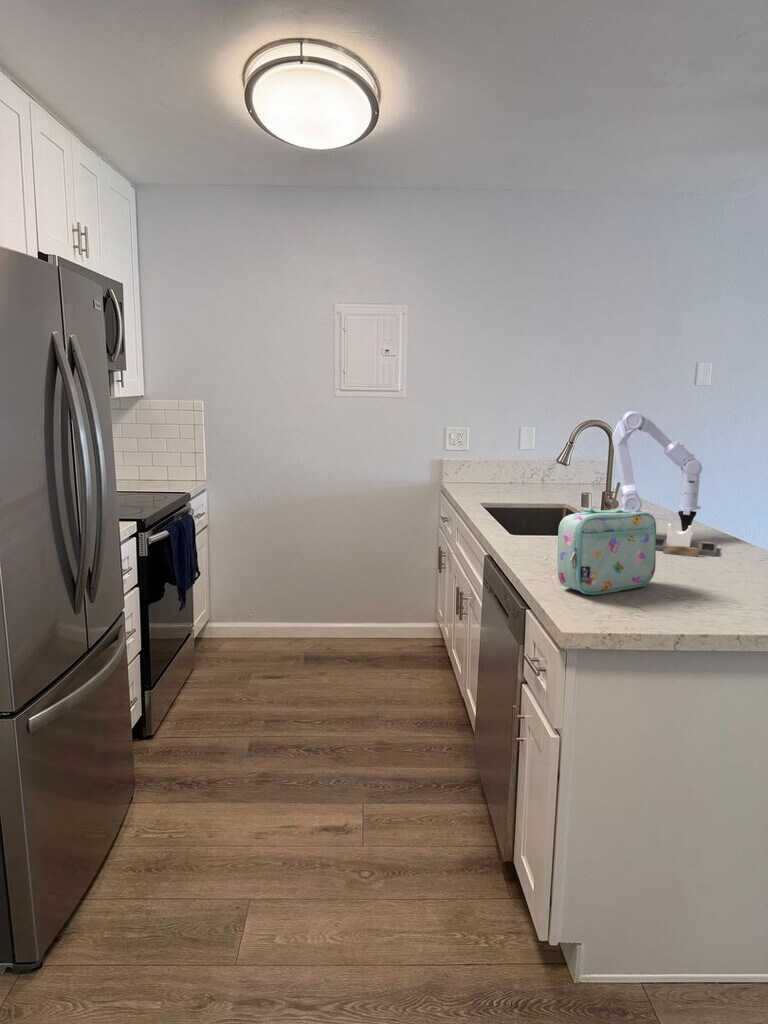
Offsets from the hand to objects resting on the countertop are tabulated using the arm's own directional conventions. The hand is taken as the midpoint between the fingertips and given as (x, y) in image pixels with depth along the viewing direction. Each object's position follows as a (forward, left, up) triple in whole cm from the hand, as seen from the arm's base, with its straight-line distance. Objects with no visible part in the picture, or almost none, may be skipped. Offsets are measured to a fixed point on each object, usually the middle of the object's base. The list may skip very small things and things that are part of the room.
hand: (685, 532), depth 230 cm
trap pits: (0, -15, -3) cm, 15 cm away
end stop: (0, -23, -3) cm, 23 cm away
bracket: (-1, -7, -3) cm, 8 cm away
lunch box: (-15, -73, -3) cm, 75 cm away
